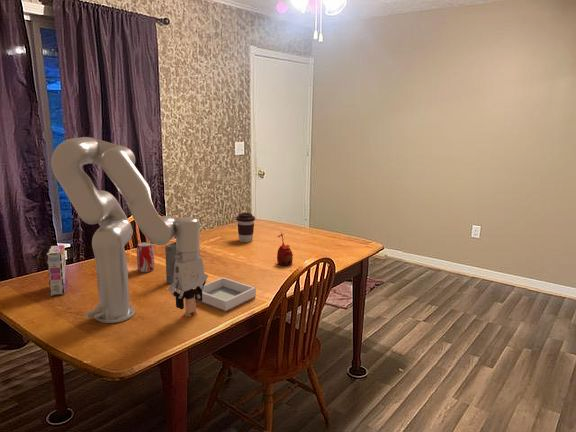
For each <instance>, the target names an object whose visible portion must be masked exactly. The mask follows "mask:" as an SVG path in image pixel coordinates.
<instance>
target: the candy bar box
mask: <svg viewBox="0 0 576 432" xmlns="http://www.w3.org/2000/svg"><path fill="white" fill-rule="evenodd" d="M65 249H66V248H65V245H64V244H63V245H51V246H50V248H49V249H48V251H47V253H46V261H47V271H48V281H49V282H48V283H49V293H50V297H54V296H55V297H56V296H64V295H65V293H66V290H67V286H68V273H67V263H66V262H67V260H66V250H65Z"/></svg>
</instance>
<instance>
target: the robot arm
mask: <svg viewBox="0 0 576 432" xmlns="http://www.w3.org/2000/svg"><path fill="white" fill-rule="evenodd" d="M88 164H90V165H91V164H92V165H95V166H100V167H101V168H102V170H103V171H104V173H105V174H106V176H107V177H108V178H109V179H110V181H111V182H112V183H113V185H114V186H115V187H116V189H117V190H118V192H119V193H120V194H121V196H122V197H123V198H124V200H125V202H126V204H127V207H128V209H129V212H130V215H131V216H132V218H133V220H134V222H135V224H136V226H137V227H138V228H139V230H140V231H141V233H142V234H143V235H144V237H145V238H146V239H147V240H148V242H150V243H152V245H155V246H166V245H168V243H169V242H170V241H171V240H172V239H173V238H175V242H176V255H175V256H174V257H175V259H177V260H176V261H175V267H174V282H173V283H172V284H170V286H169V287H168V288H167V289H168V290H167V291H168V292H170V294H171V295H172V296H173V297H175V306H176V307H175V308H178V309H180V310H184V309H185V306H184V305H185V298H182V296H183V293H184V291H188V290H191V289H195V290H196V291H197V292H198V293H199V295H200V297H201V298H200V299H198V297H197V296H196V295H195V299H196V300H199V301H202V290H203V289H204V287H203V286H204V285H205V284H207V280H208V277H209V275H208V274H206V273H205V268H204V267H205V266H204V261H203V258H202V256H201V255H200V253H201V252H200V223H199V222H200V221H199V220H198V219H197V218H194V217H192V216H191V217H190V216H189V217H187V216H186V217H177V216H172V215H171V216H170V215H162V216H160V214H159V212H158V211H157V210H156V208H155V205H154V203H153V200H152V195H151V194H152V192H151V191H152V190H151V188H150V185H149V183H148V182H147V181H146V179H145V178H144V176H143V175H142V174H141V173H140V171H139V170H138V168H137V167H136V165H135V164H136V156H135V154H134V152H133V151H132V150H131V149H130V148H129V147H127V146H124V145H120V144H116V143H113V142H109V141H105V140H101V139H98V138H94V137H89V136H82V137H73V138H69V139H66V140H63V142H61V143H59V144H58V145H57V146H56V147H55V149H54V150H53V153H52V154H51V160H50V166H51V170H52V173H53V176H54V178H55V179H56V180H57V182H58V183H59V185H60V186H61V188H62V190H63V191H64V192H65V194H66V197H67V198H68V200H69V202H70V203H71V204H72V206H73V208H74V210H75V211H76V213H77V215H78V216H79V218H80V220H81V221H82V222H84V223H85V224H87V225H96V224H98V225H99V226H100V227H99V228H97V229H96V230H95V232H94V234H93V235H92V240H91V248H92V252H93V255H94V261H95V269H96V280H97V281H96V282H97V292H98V304H96V305H95V306H96V307H95V308H94V310H91V311H87V312H85V313H84V315H85V318H86V319H89V318H94V319H95V320H96V321H97V322H99V323H103V324H115V323H116V324H117V323H121V322H124V321H127V320H129V319H131V318H132V317H133V316H134V315H135V313H136V308H135V307H134V306H132V305H131V303H130V289H129V288H130V287H129V272H128V259H127V255H126V251H125V246H126V244H128V242H129V241H130V240H131V239H132V236H133V233H134V232H133V226H132V224H131V222H130V220H129V219H128V216H127V215H126V213H125V211H124V210H123V208H122V206H121V205H120V203H119V201H118V200H117V198H116V197H115V196H114V195H113V194H112V193H110V192H109V191H106V190H101V189H100V190H99V189H97V187H96V186H95V185H94V182H93V181H92V178H91V177H90V176H89V175H88V173H86V172H85V170H84V169H83V166H84V165H88Z"/></svg>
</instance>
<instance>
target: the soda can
mask: <svg viewBox="0 0 576 432" xmlns="http://www.w3.org/2000/svg"><path fill="white" fill-rule="evenodd" d="M154 249H155V248H154V246H153V243H151V242H150V241H143V242H139V243H138V244H137V247H136V263H137V270H138V271H139V272H141V273H149V272H152V271H153V270H154V269H155V250H154Z"/></svg>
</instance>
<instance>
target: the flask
mask: <svg viewBox="0 0 576 432" xmlns="http://www.w3.org/2000/svg"><path fill="white" fill-rule="evenodd" d="M164 248H165V250H164V251H165V272H166V273H165V274H166V285H171V284H172V283H173V282H174V267H175V261H176V260H177V259H175V257H174V256H175V255H176V241H175V242H172V243H169V244H165V245H164Z"/></svg>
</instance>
